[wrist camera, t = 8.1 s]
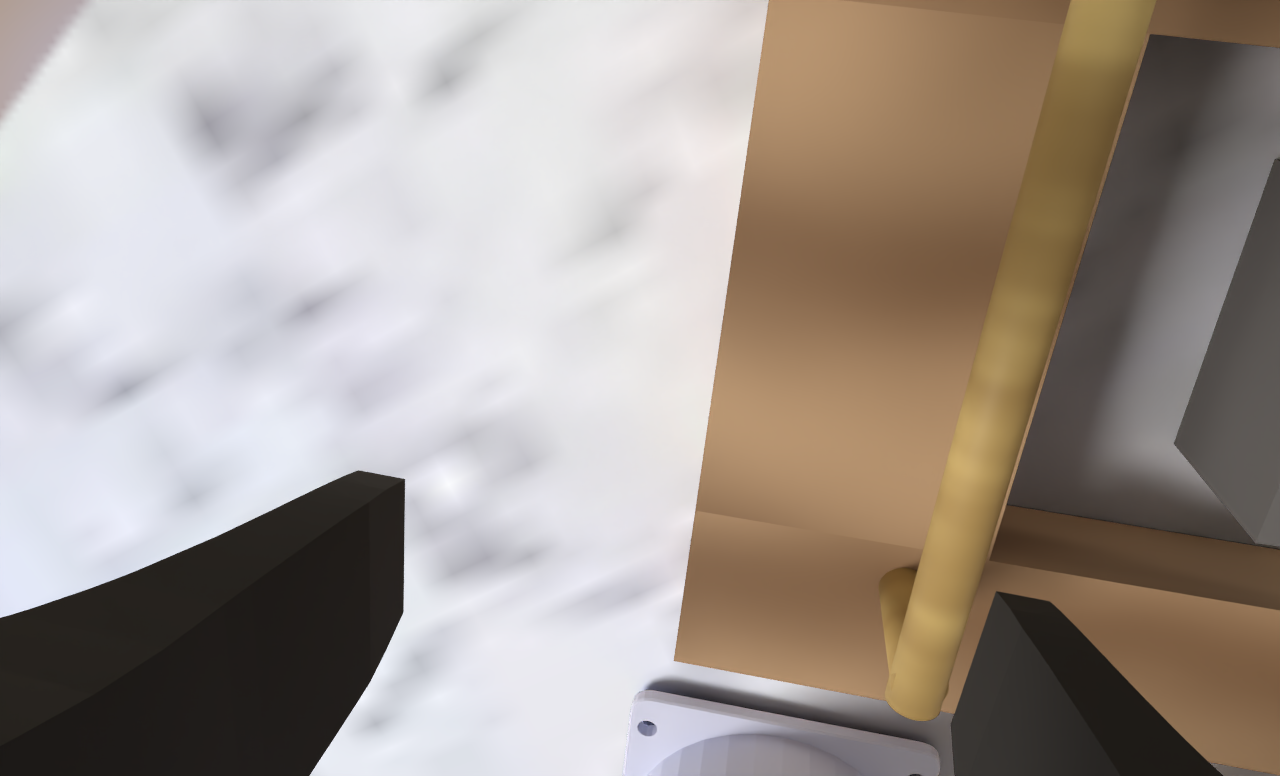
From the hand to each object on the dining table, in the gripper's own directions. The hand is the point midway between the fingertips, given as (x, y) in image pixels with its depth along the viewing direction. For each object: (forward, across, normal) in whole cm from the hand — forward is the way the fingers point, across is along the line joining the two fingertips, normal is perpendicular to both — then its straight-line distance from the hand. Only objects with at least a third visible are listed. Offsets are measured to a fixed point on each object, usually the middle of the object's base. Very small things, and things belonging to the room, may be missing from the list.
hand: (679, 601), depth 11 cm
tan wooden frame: (+10, -7, -1) cm, 12 cm away
